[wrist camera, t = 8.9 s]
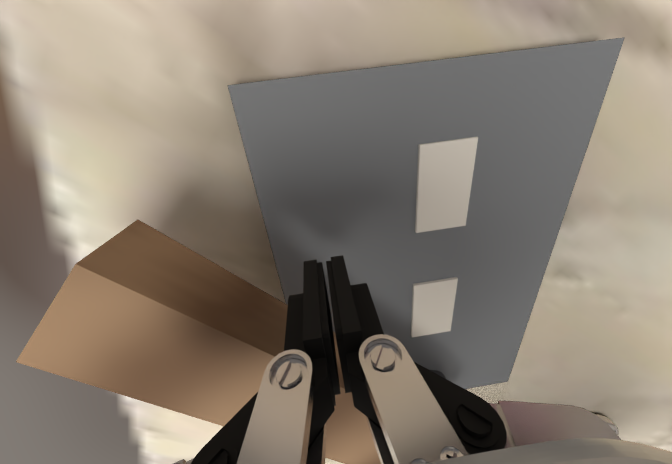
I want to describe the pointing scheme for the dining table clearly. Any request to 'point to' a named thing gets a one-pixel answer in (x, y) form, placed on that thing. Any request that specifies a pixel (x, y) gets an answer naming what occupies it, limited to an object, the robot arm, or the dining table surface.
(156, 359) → the swing bar
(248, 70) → the dining table surface
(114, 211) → the dining table surface
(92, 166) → the dining table surface
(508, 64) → the label panel
